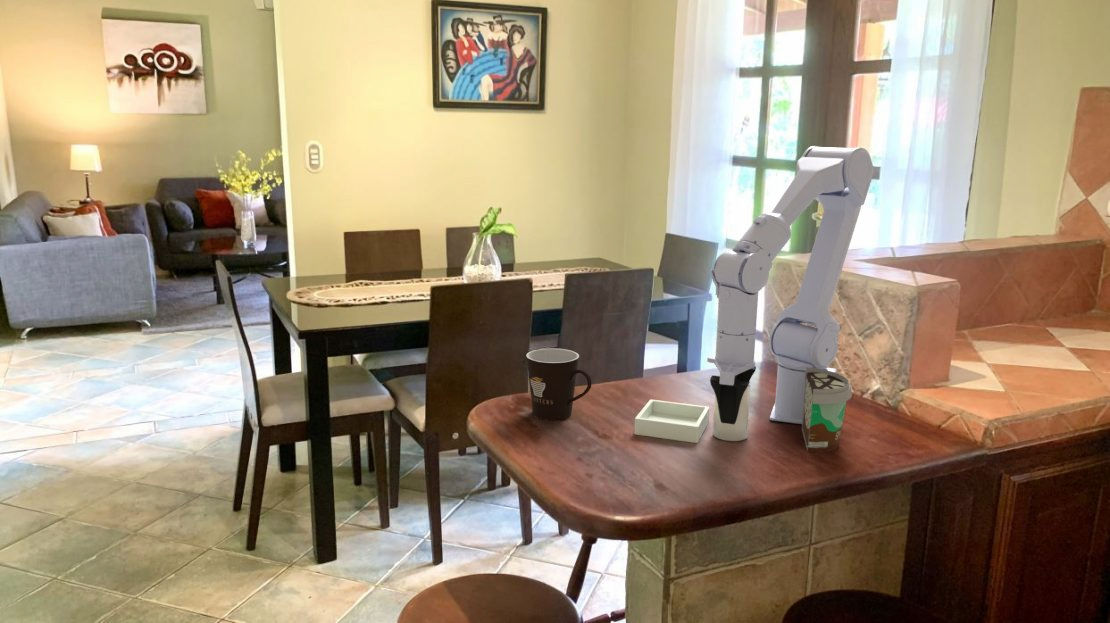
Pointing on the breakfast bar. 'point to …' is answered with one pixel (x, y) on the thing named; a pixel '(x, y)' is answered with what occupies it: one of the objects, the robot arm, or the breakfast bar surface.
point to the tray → (672, 420)
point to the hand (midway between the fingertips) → (731, 416)
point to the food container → (824, 409)
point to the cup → (741, 425)
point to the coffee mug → (553, 382)
